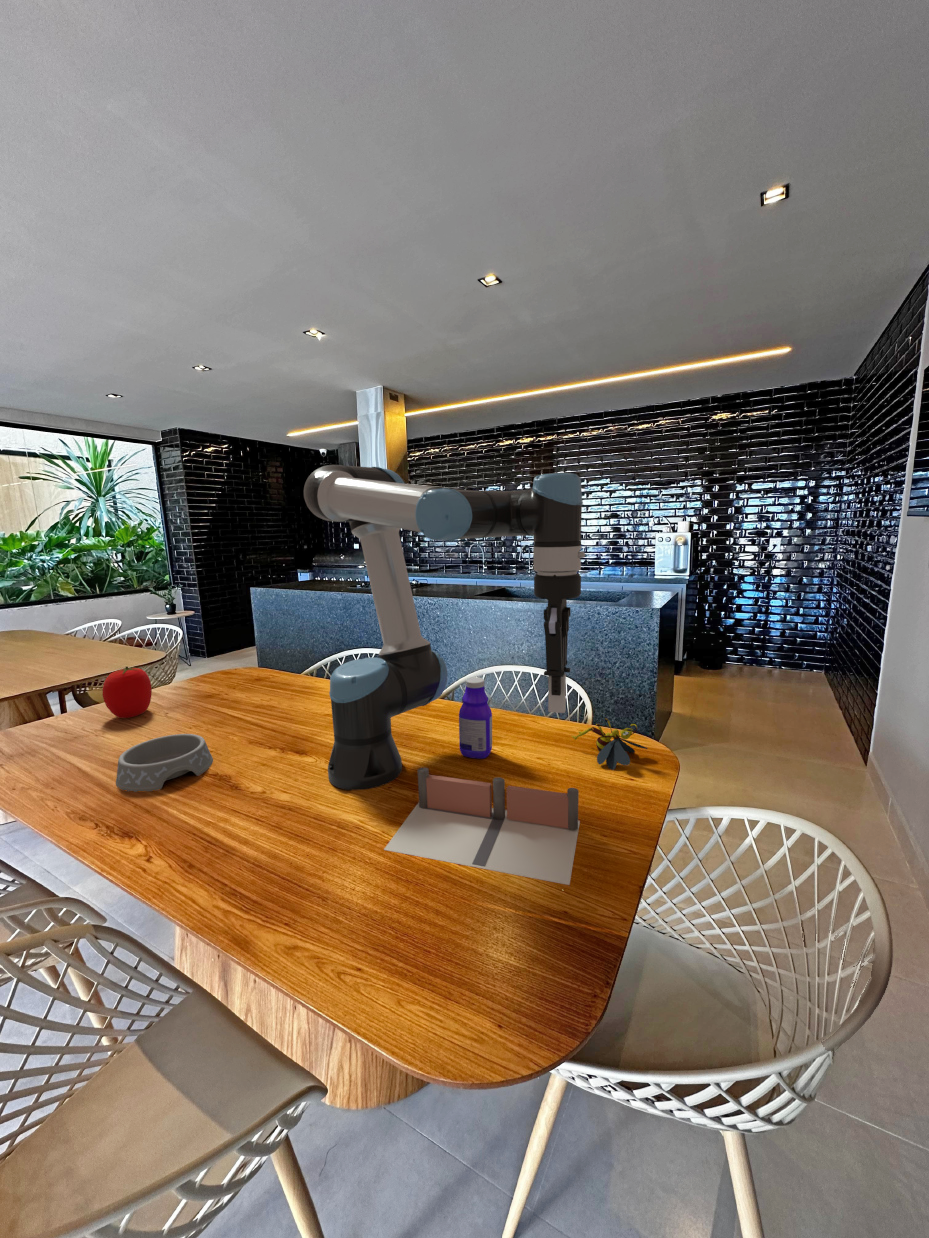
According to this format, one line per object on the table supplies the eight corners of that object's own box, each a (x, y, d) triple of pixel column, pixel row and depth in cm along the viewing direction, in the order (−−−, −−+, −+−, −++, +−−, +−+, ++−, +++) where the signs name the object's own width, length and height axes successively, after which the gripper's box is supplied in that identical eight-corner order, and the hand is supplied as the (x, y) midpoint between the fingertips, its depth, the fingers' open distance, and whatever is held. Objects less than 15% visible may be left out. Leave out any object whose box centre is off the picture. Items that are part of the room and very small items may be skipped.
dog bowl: (106, 774, 109) (102, 751, 108) (196, 745, 122) (193, 724, 121) (129, 802, 97) (124, 777, 96) (225, 767, 111) (223, 744, 110)
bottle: (495, 750, 114) (494, 676, 111) (488, 762, 109) (486, 684, 106) (465, 746, 117) (462, 674, 113) (456, 757, 112) (454, 682, 108)
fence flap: (506, 819, 87) (506, 784, 85) (508, 814, 88) (508, 779, 87) (577, 830, 83) (578, 794, 82) (578, 824, 85) (579, 788, 84)
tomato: (137, 723, 136) (129, 672, 134) (95, 724, 137) (87, 673, 134) (165, 706, 149) (158, 660, 146) (127, 707, 149) (119, 660, 146)
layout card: (383, 851, 80) (383, 849, 80) (422, 799, 95) (422, 796, 95) (569, 887, 71) (569, 884, 71) (579, 823, 86) (579, 820, 86)
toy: (586, 708, 119) (649, 718, 109) (588, 742, 120) (650, 755, 110) (559, 723, 110) (625, 735, 100) (562, 759, 111) (627, 775, 101)
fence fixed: (417, 807, 92) (415, 771, 90) (421, 801, 94) (420, 766, 92) (503, 821, 87) (503, 783, 85) (506, 814, 89) (505, 778, 87)
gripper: (577, 577, 75) (575, 727, 79) (584, 568, 87) (582, 699, 91) (526, 577, 77) (528, 723, 81) (540, 569, 89) (541, 696, 94)
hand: (557, 710), depth 86 cm, fingers closed
